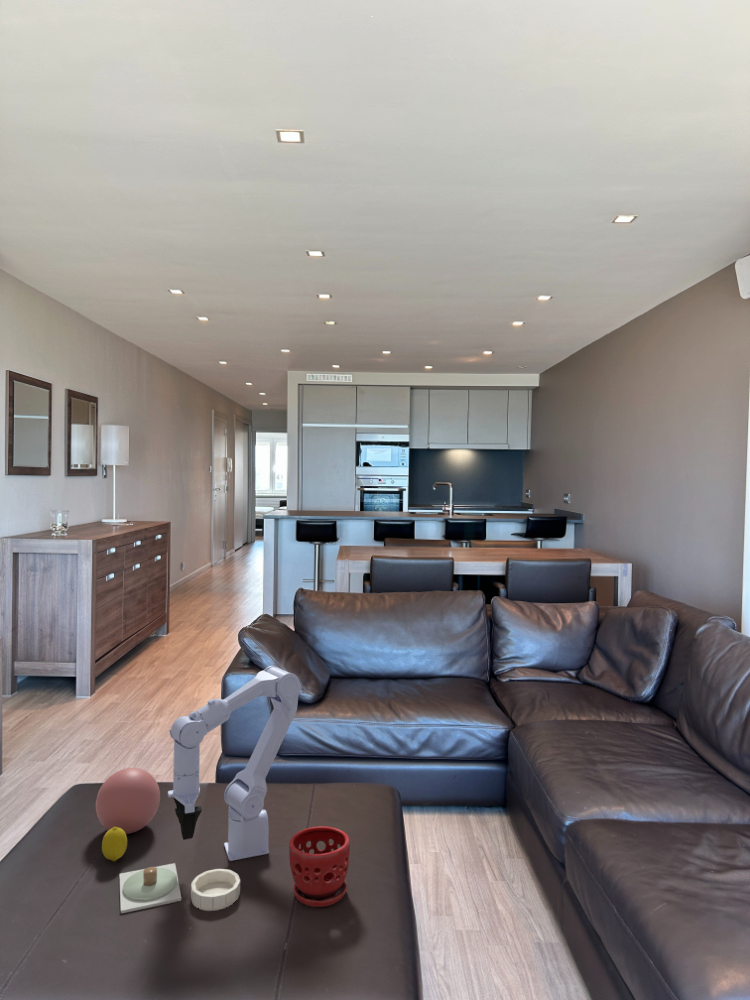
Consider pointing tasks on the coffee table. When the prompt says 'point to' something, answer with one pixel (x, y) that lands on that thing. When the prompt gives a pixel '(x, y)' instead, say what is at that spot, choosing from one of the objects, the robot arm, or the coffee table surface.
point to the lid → (149, 884)
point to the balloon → (128, 800)
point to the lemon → (114, 843)
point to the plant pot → (319, 866)
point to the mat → (134, 905)
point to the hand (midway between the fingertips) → (185, 830)
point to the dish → (215, 889)
